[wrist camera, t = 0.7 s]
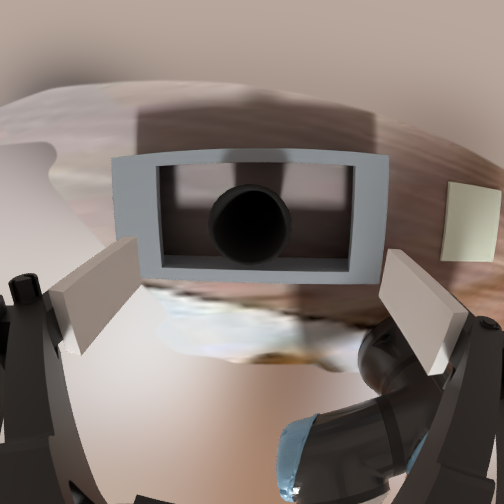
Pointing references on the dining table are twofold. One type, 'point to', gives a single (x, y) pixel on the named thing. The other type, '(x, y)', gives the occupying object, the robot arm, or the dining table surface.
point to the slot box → (280, 268)
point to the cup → (249, 225)
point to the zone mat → (470, 223)
